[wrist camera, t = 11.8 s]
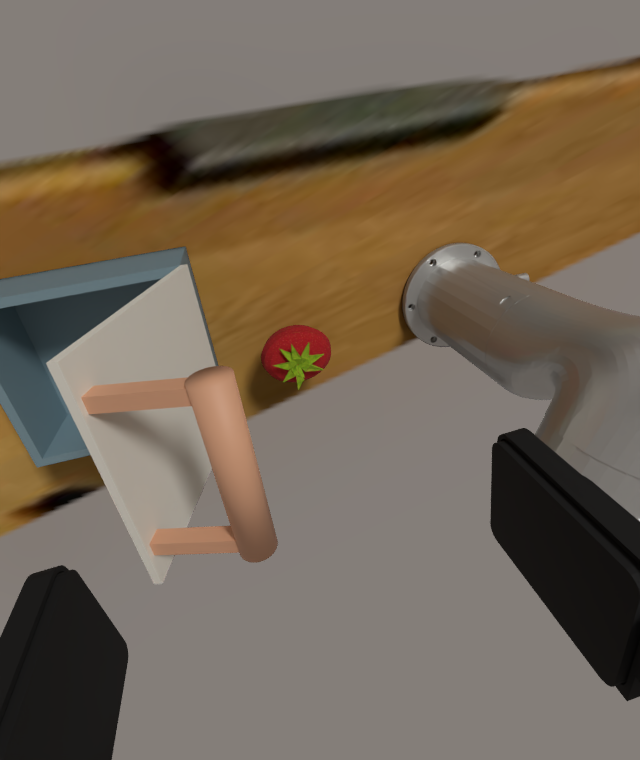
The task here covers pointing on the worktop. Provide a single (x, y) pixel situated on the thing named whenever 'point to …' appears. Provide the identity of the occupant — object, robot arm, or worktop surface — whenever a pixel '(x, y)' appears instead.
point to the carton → (64, 339)
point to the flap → (166, 427)
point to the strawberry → (296, 353)
